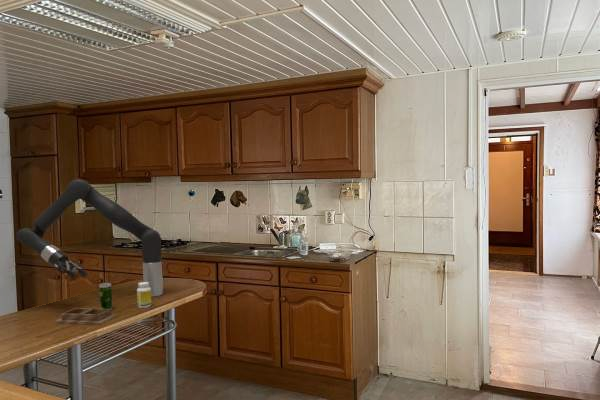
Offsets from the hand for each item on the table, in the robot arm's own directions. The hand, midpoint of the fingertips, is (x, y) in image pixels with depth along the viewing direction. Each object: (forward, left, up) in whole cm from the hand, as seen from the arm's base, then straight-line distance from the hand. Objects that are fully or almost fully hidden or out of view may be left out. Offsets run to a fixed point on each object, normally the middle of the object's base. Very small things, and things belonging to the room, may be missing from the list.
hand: (80, 276), depth 204 cm
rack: (+14, +12, -15) cm, 24 cm away
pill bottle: (-7, +27, -16) cm, 32 cm away
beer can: (0, +12, -16) cm, 20 cm away
